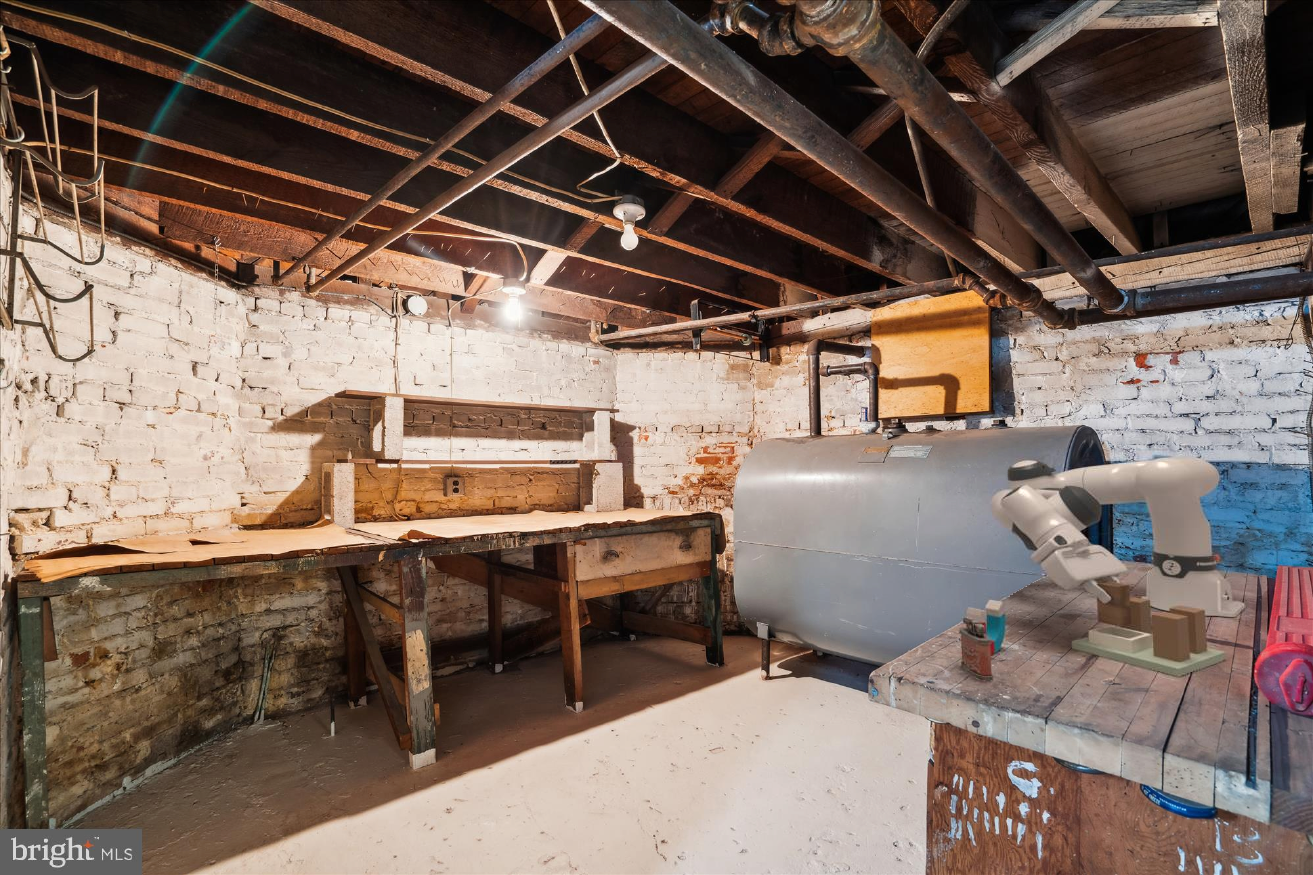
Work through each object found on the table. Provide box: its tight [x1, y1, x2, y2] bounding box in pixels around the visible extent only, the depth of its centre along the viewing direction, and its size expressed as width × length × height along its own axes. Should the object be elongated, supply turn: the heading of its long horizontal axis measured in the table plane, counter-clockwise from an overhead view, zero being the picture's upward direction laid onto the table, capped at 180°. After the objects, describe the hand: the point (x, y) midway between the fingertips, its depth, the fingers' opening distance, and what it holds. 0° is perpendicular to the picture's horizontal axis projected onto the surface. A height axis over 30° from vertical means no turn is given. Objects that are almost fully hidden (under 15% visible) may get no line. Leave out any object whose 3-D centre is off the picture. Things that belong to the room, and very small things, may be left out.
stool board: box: [1071, 596, 1227, 678], centre depth 116 cm, size 18×18×10 cm
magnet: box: [965, 599, 1007, 655], centre depth 119 cm, size 12×3×10 cm, turn 126°
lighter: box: [959, 615, 994, 682], centre depth 109 cm, size 8×3×10 cm, turn 179°
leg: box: [1096, 581, 1131, 627], centre depth 118 cm, size 4×4×8 cm
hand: (1117, 599), depth 118 cm, fingers closed on leg, 4 cm apart
